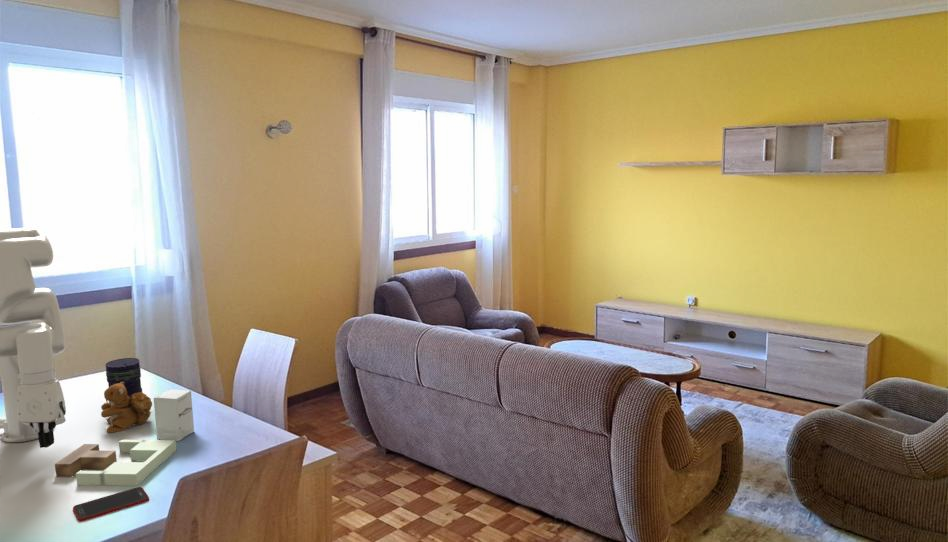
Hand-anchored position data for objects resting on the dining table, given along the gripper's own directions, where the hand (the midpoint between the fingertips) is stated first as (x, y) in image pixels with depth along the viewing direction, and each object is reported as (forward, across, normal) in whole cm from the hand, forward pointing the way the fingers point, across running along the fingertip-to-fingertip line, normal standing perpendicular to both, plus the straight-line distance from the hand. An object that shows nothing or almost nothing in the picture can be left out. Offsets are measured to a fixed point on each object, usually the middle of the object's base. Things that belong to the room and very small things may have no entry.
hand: (47, 445), depth 174 cm
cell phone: (+8, +27, -18) cm, 34 cm away
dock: (+6, +21, +1) cm, 22 cm away
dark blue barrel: (+5, -4, +43) cm, 43 cm away
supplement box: (+6, +23, +21) cm, 32 cm away
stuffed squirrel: (+6, +5, +28) cm, 29 cm away
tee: (+6, +11, +1) cm, 12 cm away
